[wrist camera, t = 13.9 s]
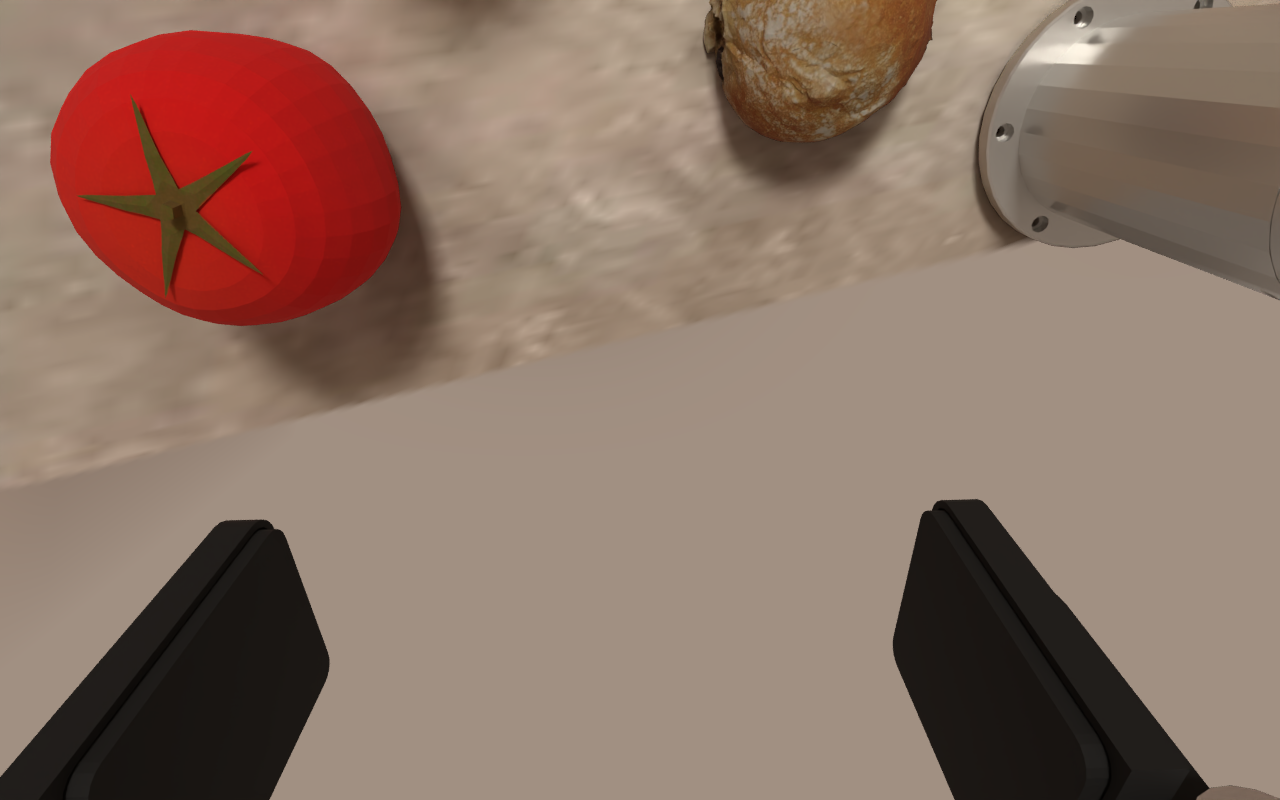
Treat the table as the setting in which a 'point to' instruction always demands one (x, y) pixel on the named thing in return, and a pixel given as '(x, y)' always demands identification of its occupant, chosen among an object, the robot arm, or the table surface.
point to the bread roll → (815, 60)
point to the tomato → (226, 176)
